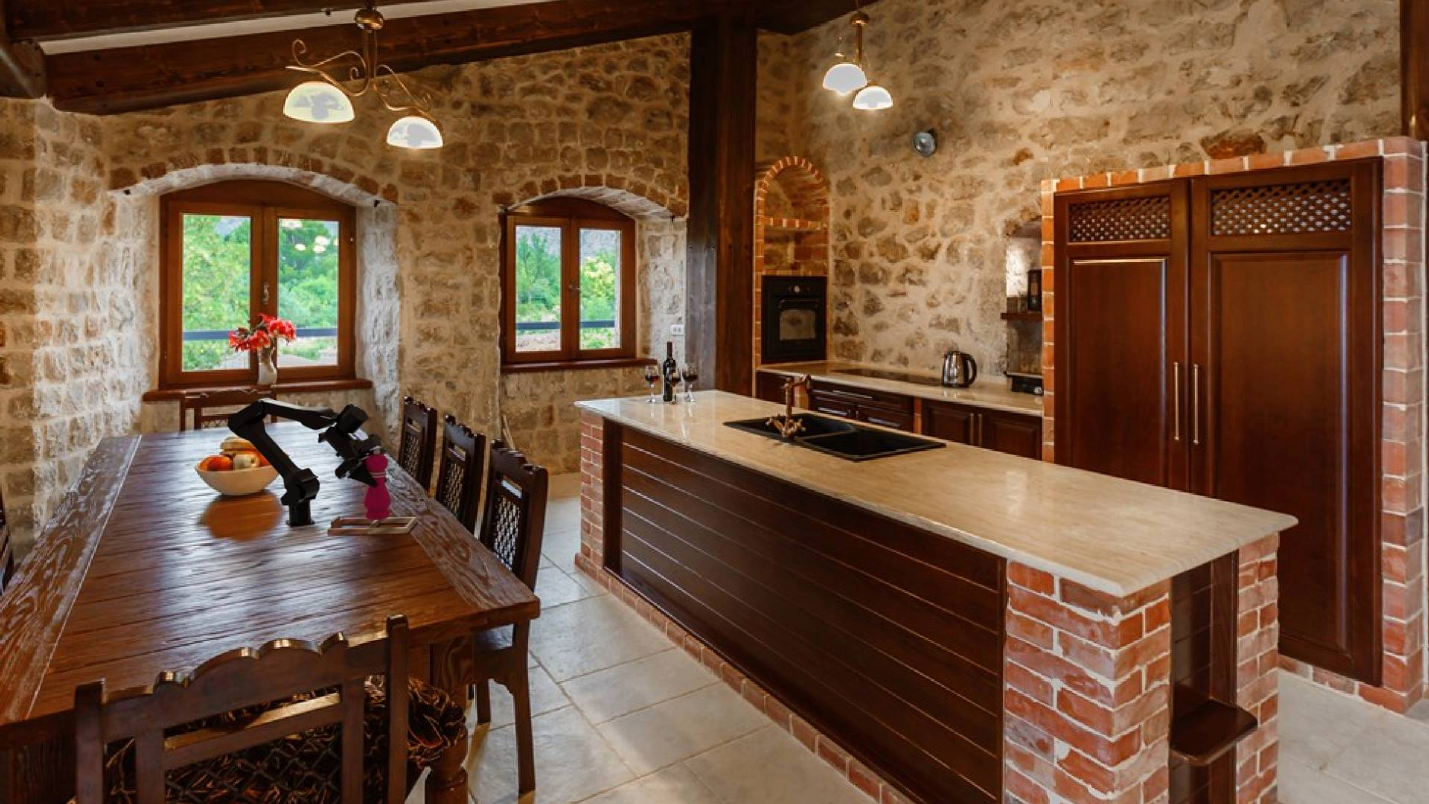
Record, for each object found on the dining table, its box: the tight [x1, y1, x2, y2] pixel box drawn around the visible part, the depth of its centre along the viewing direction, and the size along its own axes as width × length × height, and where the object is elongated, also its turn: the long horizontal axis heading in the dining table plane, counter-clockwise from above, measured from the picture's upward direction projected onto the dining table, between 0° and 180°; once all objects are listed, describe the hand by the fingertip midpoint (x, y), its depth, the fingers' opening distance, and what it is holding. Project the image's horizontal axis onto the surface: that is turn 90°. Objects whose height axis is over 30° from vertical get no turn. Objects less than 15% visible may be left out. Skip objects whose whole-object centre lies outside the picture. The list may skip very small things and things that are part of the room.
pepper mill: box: [363, 448, 392, 520], centre depth 233 cm, size 7×7×20 cm
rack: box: [326, 515, 418, 536], centre depth 234 cm, size 21×11×3 cm, turn 96°
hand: (381, 484), depth 232 cm, fingers closed on pepper mill, 5 cm apart
